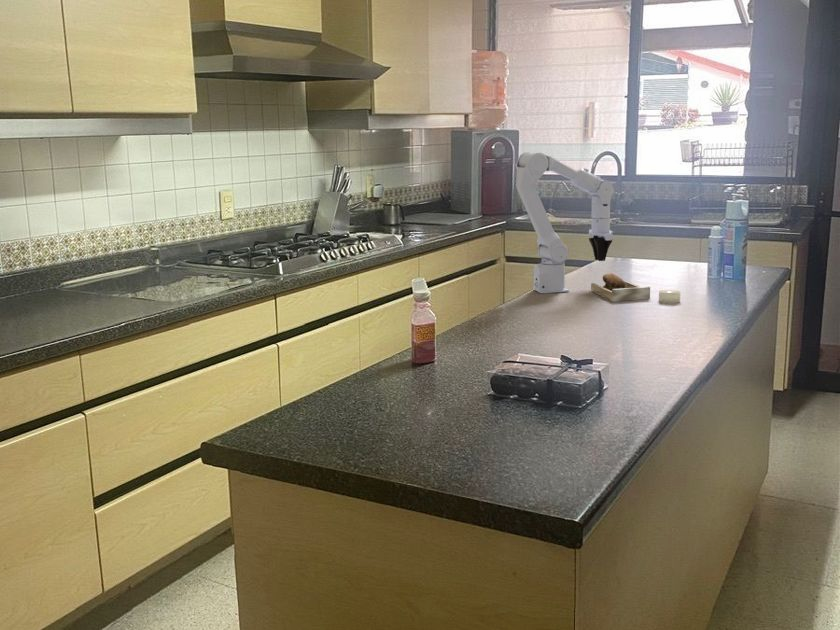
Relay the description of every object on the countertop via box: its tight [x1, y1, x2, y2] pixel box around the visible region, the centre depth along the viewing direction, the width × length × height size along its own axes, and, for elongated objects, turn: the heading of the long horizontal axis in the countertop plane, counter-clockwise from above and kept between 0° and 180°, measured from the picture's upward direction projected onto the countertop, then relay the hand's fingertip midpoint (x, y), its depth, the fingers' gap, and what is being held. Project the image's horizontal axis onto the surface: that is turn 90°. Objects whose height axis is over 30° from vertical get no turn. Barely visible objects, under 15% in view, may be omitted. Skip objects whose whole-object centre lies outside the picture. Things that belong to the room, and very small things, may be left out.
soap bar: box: [658, 289, 681, 304], centre depth 249 cm, size 6×6×3 cm
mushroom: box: [602, 273, 625, 291], centre depth 264 cm, size 8×8×6 cm
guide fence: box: [590, 280, 651, 302], centre depth 260 cm, size 12×17×4 cm
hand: (600, 260), depth 273 cm, fingers closed
